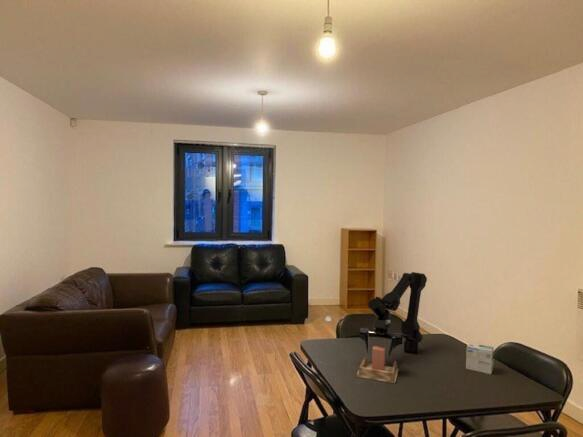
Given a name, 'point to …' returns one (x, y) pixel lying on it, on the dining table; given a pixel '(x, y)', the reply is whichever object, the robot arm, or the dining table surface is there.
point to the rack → (378, 372)
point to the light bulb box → (479, 358)
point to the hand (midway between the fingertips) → (378, 353)
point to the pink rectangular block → (378, 358)
